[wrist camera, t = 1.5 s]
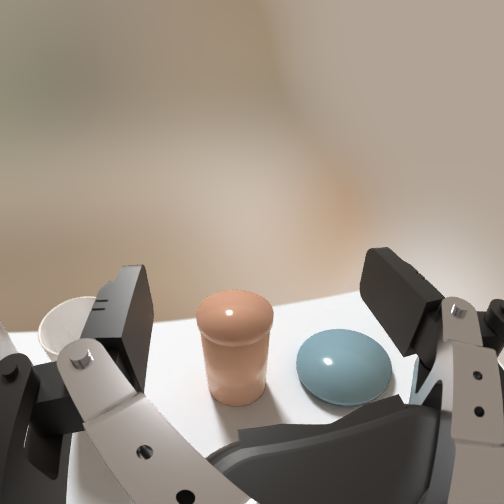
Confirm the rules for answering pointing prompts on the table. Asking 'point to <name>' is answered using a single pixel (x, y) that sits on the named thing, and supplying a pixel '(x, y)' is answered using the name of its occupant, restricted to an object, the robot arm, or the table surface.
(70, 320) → the white cup
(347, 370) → the blue-grey round disc
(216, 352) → the dome-topped peach cylinder
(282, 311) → the table surface
